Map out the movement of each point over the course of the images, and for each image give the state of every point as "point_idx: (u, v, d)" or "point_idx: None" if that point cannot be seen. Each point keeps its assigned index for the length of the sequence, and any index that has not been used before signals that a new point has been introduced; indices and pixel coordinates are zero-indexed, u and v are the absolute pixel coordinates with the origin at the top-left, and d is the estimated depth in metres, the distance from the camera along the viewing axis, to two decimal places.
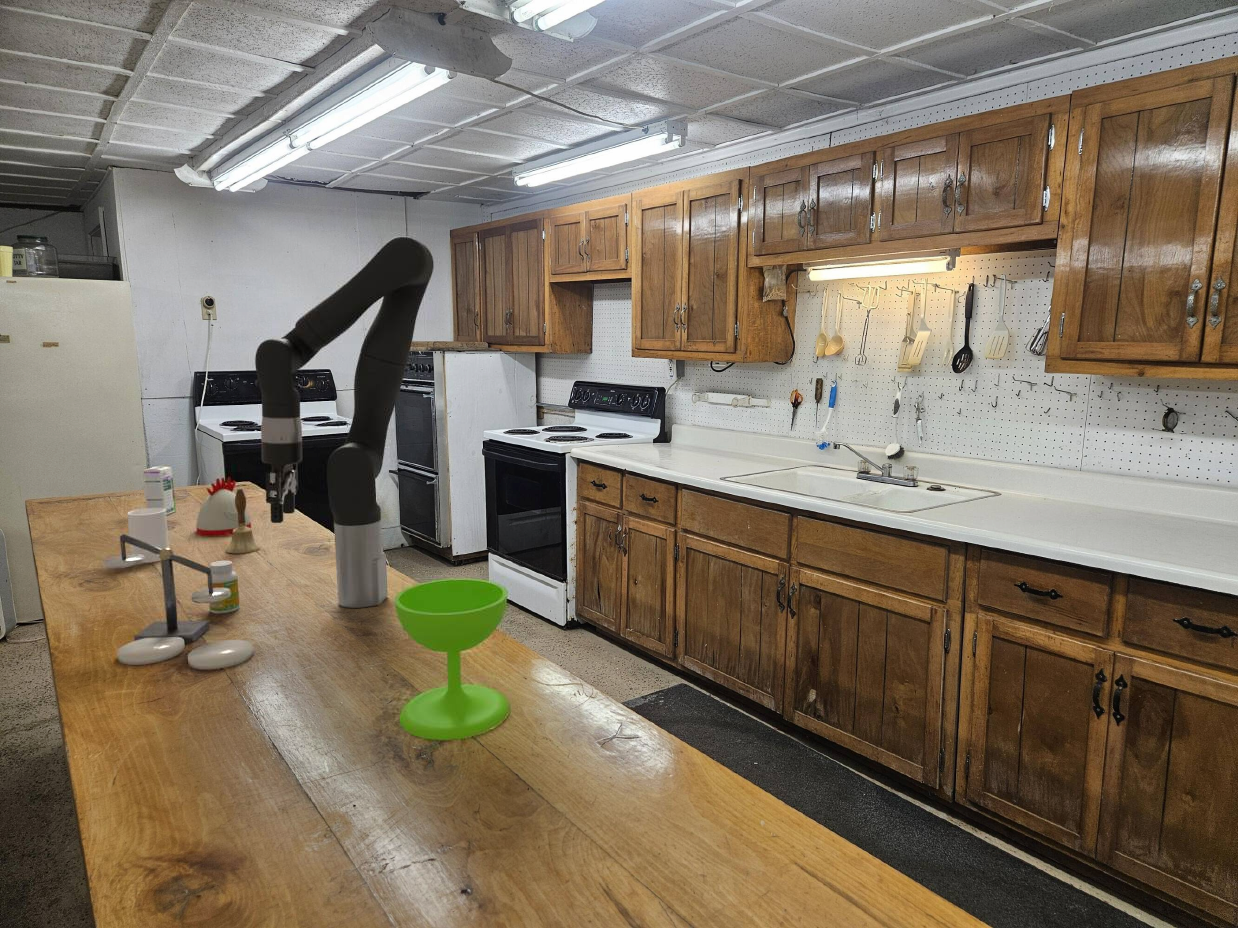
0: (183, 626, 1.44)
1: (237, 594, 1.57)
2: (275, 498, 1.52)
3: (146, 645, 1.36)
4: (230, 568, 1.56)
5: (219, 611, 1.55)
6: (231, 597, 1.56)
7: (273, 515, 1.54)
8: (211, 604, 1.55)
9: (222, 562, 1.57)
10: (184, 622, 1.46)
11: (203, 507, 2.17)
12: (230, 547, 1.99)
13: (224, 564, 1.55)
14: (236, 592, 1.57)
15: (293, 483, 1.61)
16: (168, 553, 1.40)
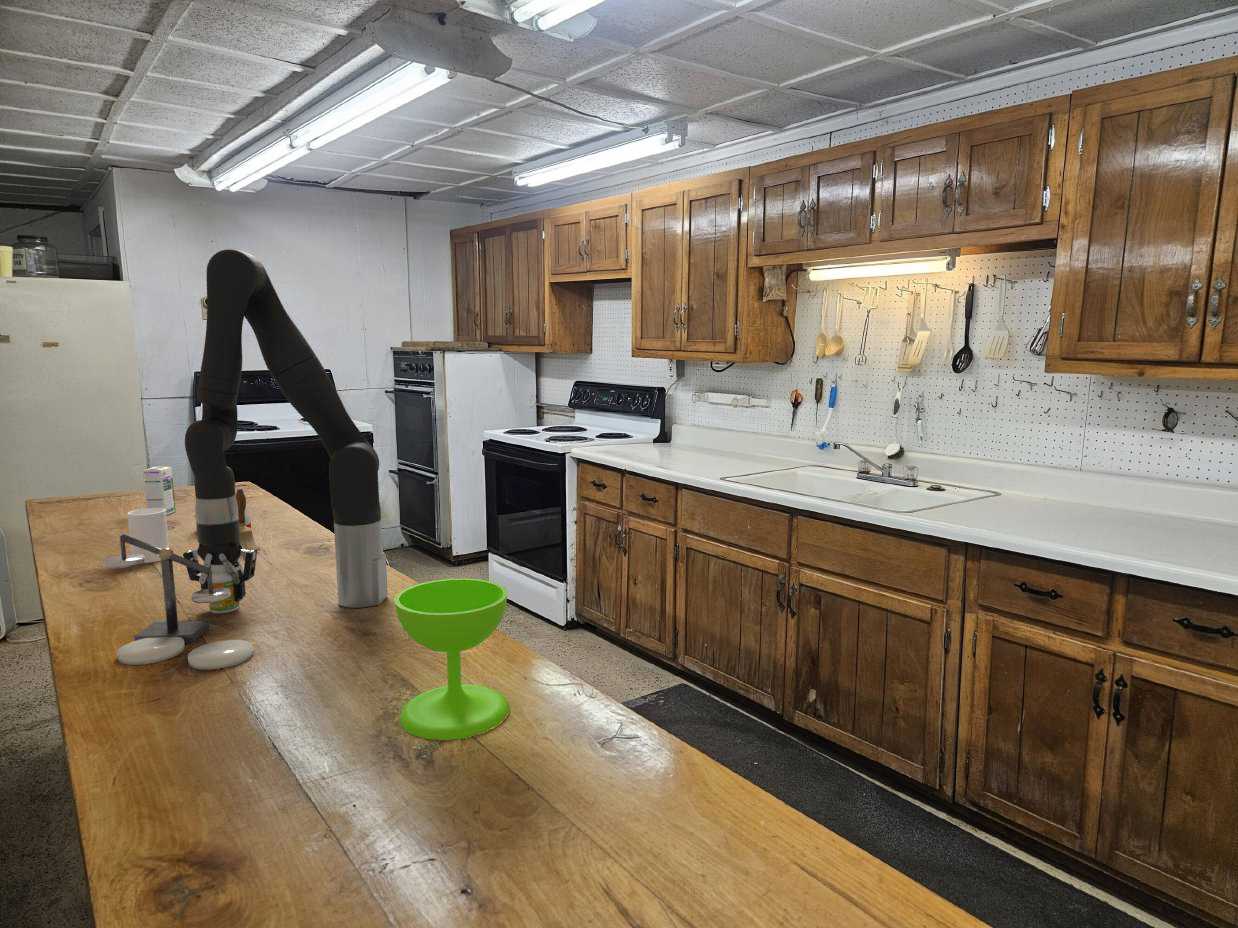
0: (183, 626, 1.44)
1: None
2: (251, 573, 1.57)
3: (146, 645, 1.36)
4: None
5: (219, 611, 1.55)
6: (231, 597, 1.56)
7: (242, 592, 1.57)
8: (211, 604, 1.55)
9: None
10: (184, 622, 1.46)
11: None
12: None
13: None
14: None
15: None
16: (168, 553, 1.40)
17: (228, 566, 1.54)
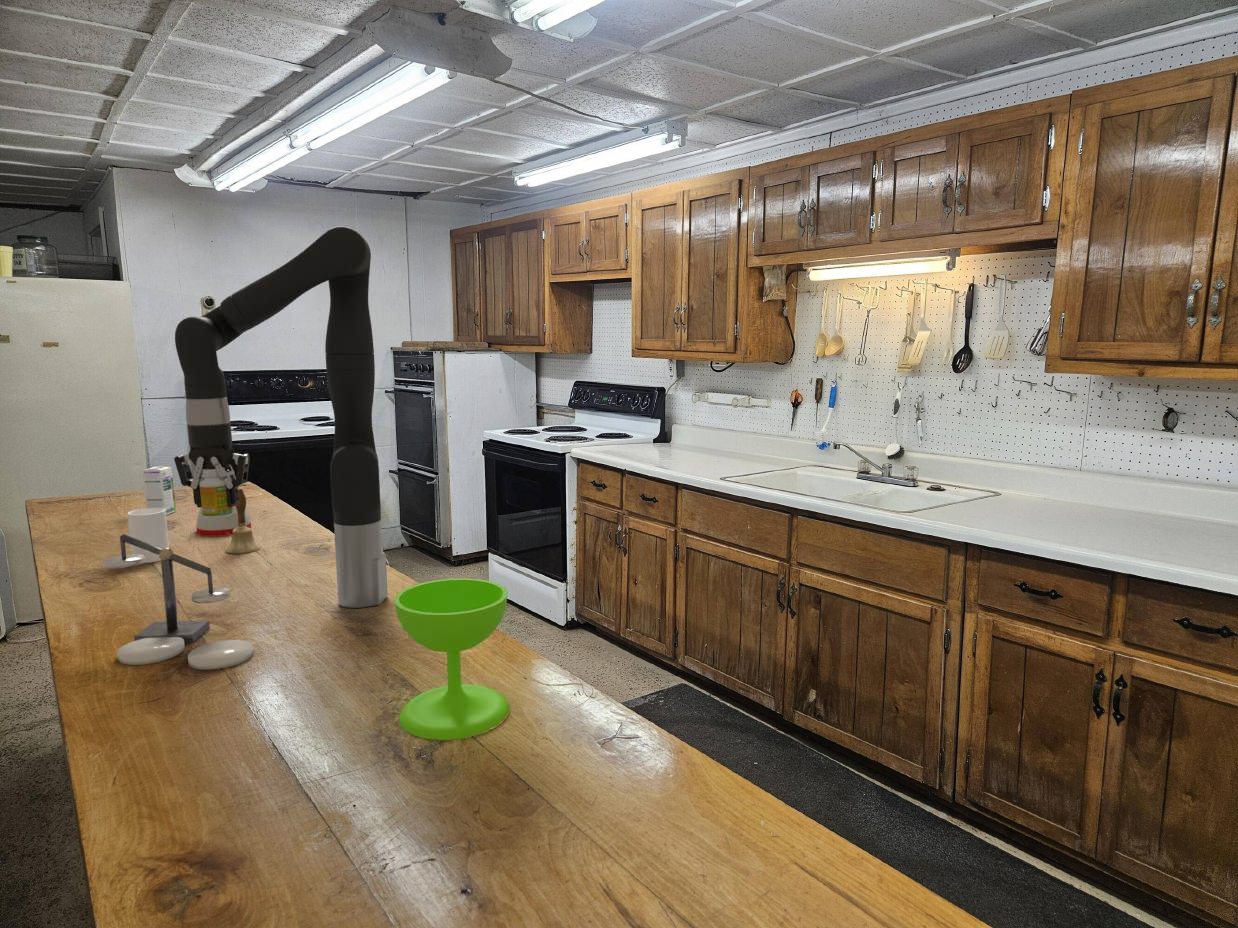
0: (183, 626, 1.44)
1: None
2: (244, 478, 1.54)
3: (146, 645, 1.36)
4: None
5: (212, 516, 1.52)
6: (224, 502, 1.53)
7: (235, 498, 1.54)
8: (204, 509, 1.52)
9: None
10: (184, 622, 1.46)
11: None
12: (230, 547, 1.99)
13: None
14: None
15: None
16: (168, 553, 1.40)
17: (220, 470, 1.51)
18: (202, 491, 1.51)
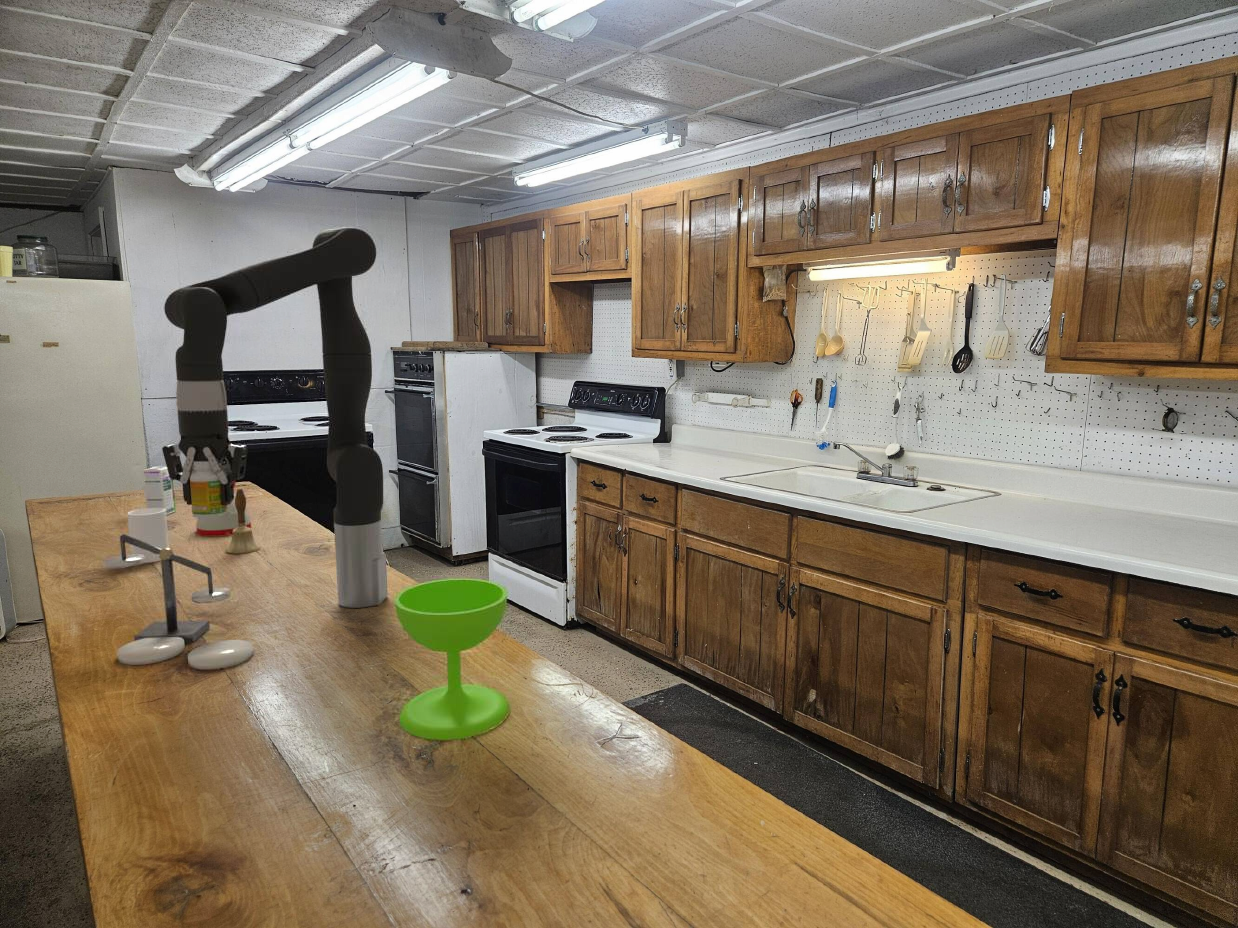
0: (183, 626, 1.44)
1: None
2: (241, 473, 1.35)
3: (146, 645, 1.36)
4: None
5: (203, 515, 1.33)
6: (217, 500, 1.34)
7: (230, 495, 1.35)
8: (194, 507, 1.34)
9: None
10: (184, 622, 1.46)
11: None
12: (230, 547, 1.99)
13: None
14: None
15: None
16: (168, 553, 1.40)
17: (214, 463, 1.33)
18: (192, 486, 1.33)
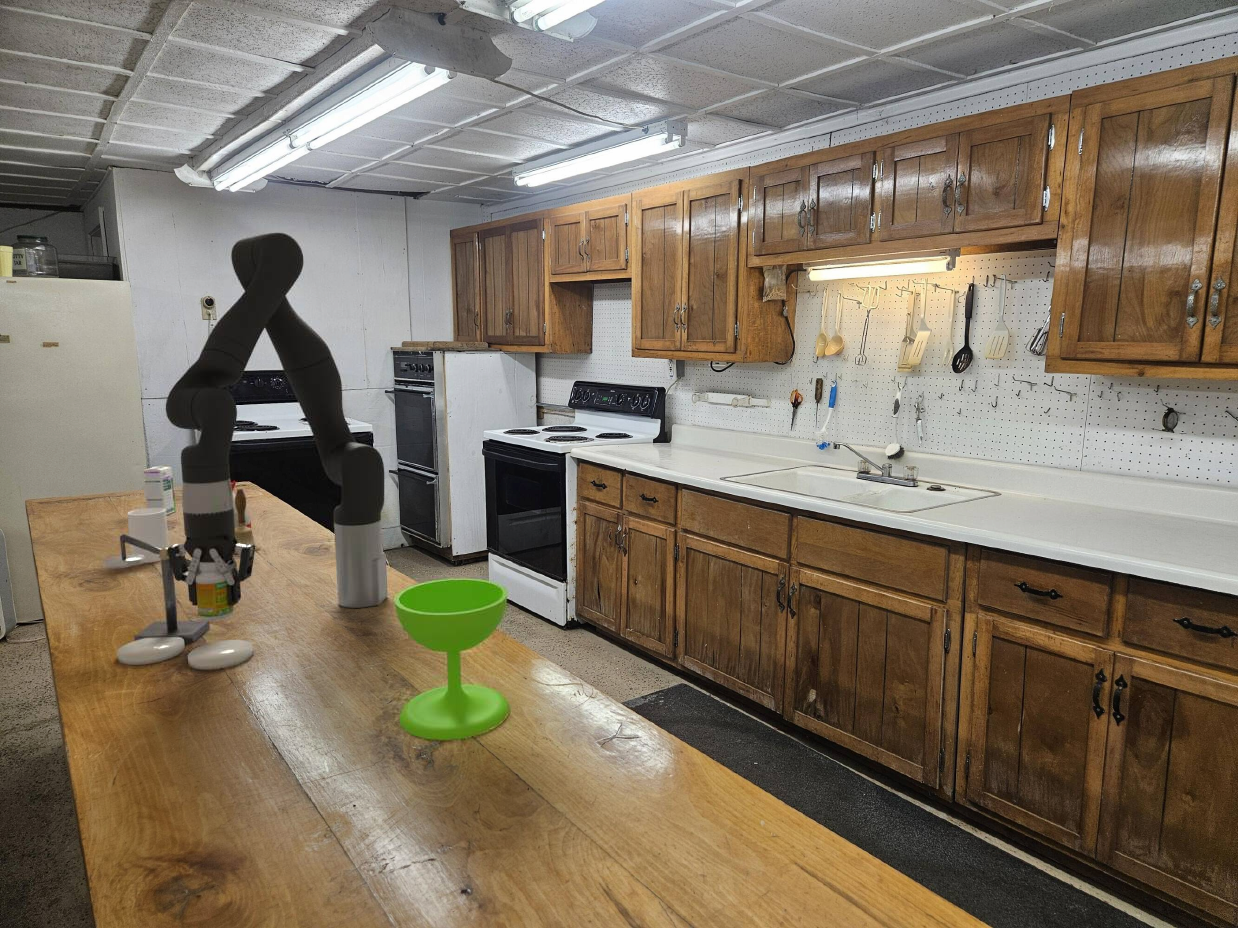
0: (183, 626, 1.44)
1: None
2: (248, 572, 1.32)
3: (146, 645, 1.36)
4: None
5: (209, 617, 1.30)
6: (224, 601, 1.31)
7: (237, 595, 1.32)
8: (200, 609, 1.30)
9: None
10: (184, 622, 1.46)
11: None
12: None
13: None
14: None
15: None
16: None
17: (221, 564, 1.30)
18: (198, 588, 1.30)
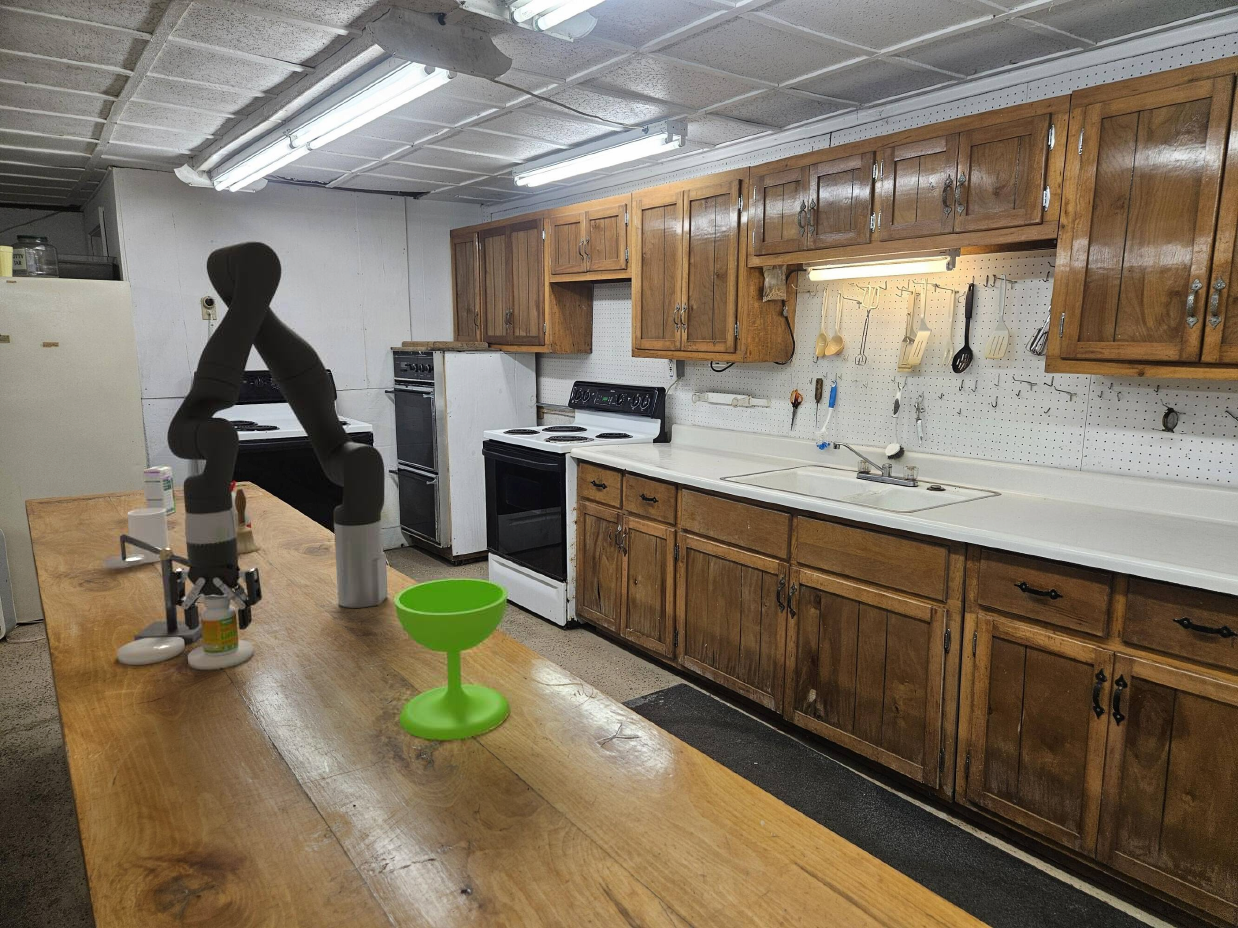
0: (183, 626, 1.44)
1: (236, 633, 1.34)
2: (258, 596, 1.33)
3: (146, 645, 1.36)
4: (227, 602, 1.32)
5: (214, 653, 1.31)
6: (229, 637, 1.32)
7: (248, 619, 1.33)
8: (205, 645, 1.31)
9: None
10: (184, 622, 1.46)
11: None
12: None
13: (221, 598, 1.32)
14: (235, 630, 1.33)
15: None
16: (168, 553, 1.40)
17: (227, 591, 1.30)
18: (203, 624, 1.31)
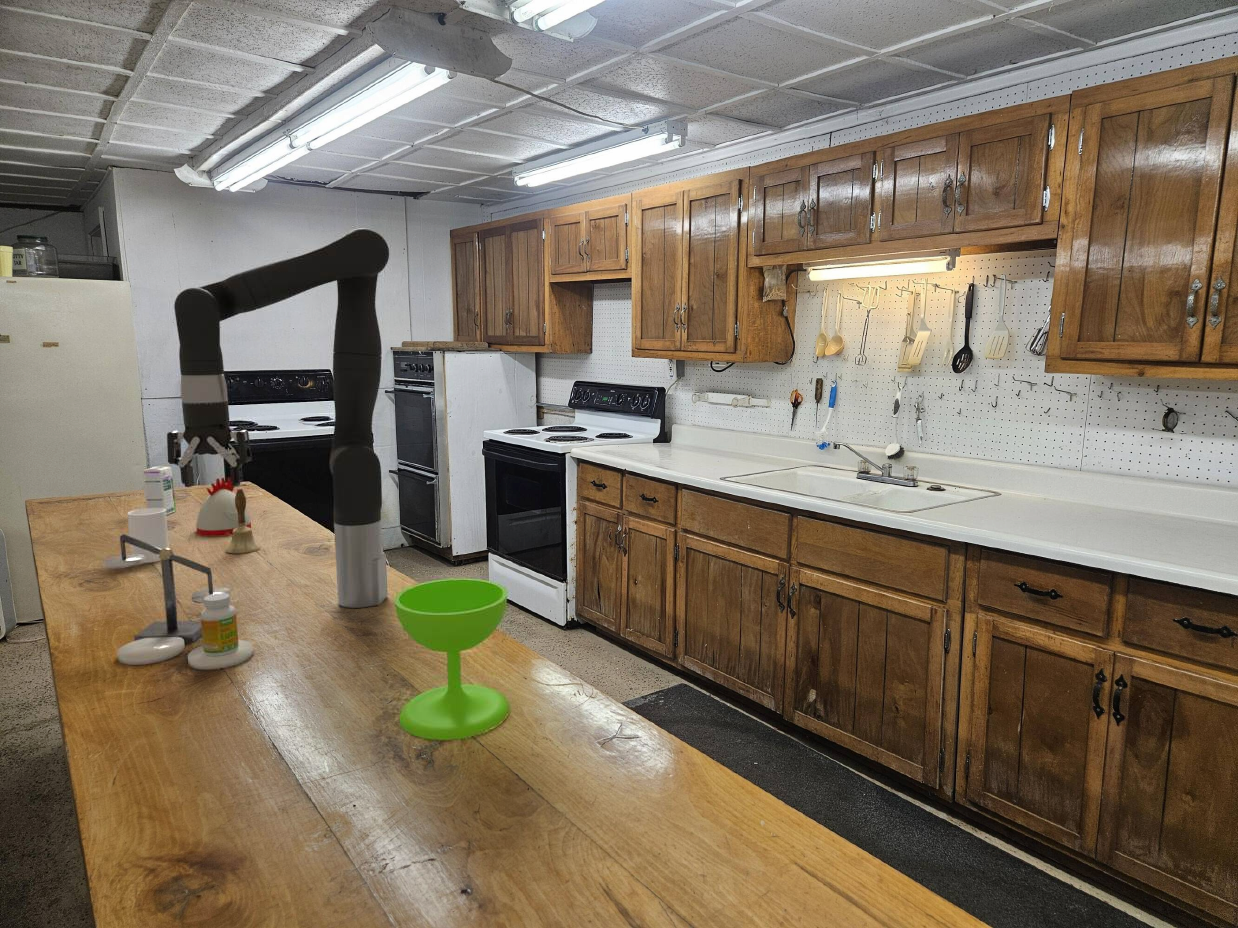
0: (183, 626, 1.44)
1: (236, 633, 1.34)
2: (249, 456, 1.46)
3: (146, 645, 1.36)
4: (227, 602, 1.32)
5: (214, 653, 1.31)
6: (229, 637, 1.32)
7: (239, 477, 1.46)
8: (205, 645, 1.31)
9: (218, 595, 1.33)
10: (184, 622, 1.46)
11: (203, 507, 2.17)
12: (230, 547, 1.99)
13: (220, 598, 1.32)
14: (234, 630, 1.33)
15: None
16: (168, 553, 1.40)
17: (220, 449, 1.43)
18: (203, 625, 1.31)
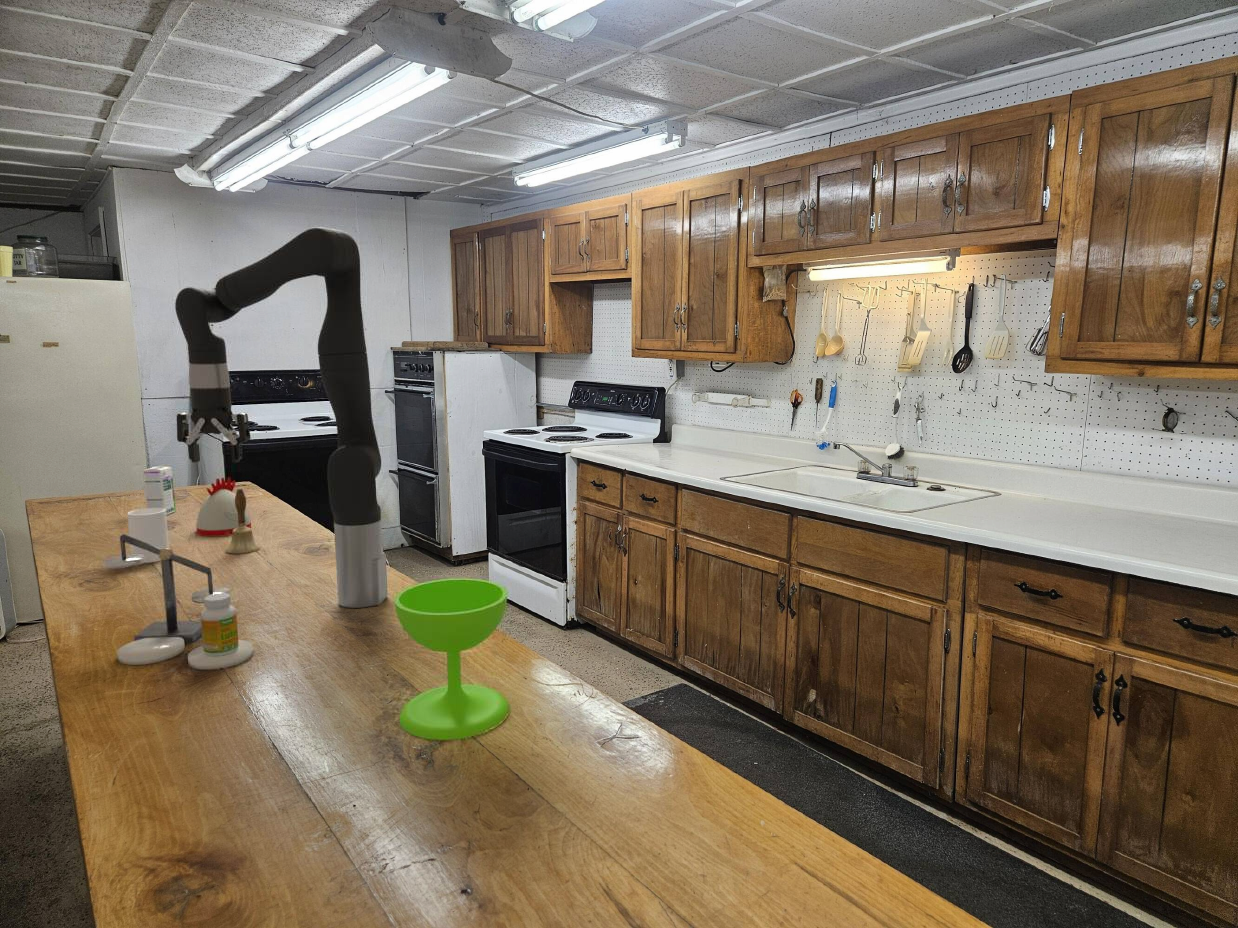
0: (183, 626, 1.44)
1: (236, 633, 1.34)
2: (247, 436, 1.66)
3: (146, 645, 1.36)
4: (227, 602, 1.32)
5: (214, 653, 1.31)
6: (229, 637, 1.32)
7: (239, 454, 1.65)
8: (205, 645, 1.31)
9: (218, 595, 1.33)
10: (184, 622, 1.46)
11: (203, 507, 2.17)
12: (230, 547, 1.99)
13: (221, 598, 1.32)
14: (235, 631, 1.33)
15: None
16: (168, 553, 1.40)
17: (222, 429, 1.63)
18: (203, 625, 1.31)
